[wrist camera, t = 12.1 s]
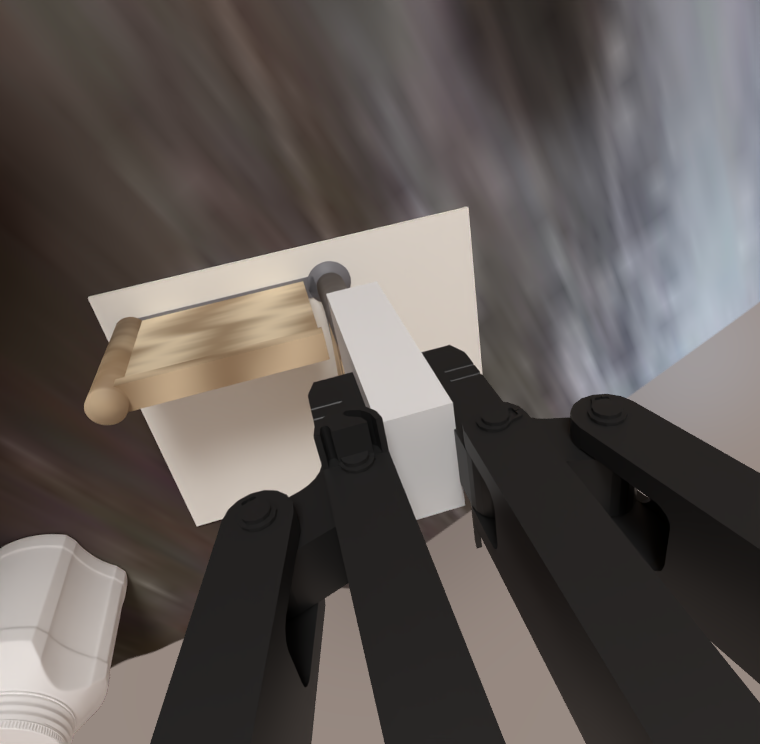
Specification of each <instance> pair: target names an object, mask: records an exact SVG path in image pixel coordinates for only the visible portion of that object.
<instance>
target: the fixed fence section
mask: <svg viewBox="0 0 760 744" xmlns="http://www.w3.org/2000/svg"><path fill="white" fill-rule="evenodd" d="M329 359H330V358H329V354H328V350H327V346H326V342H325V338H324V334H323V330H322V327H319V328H318V327H317V324H316V320H315V317H314V314H313V311H312V308H311V305H310V301H309V298H308V295H307V292H306V289H305V285H304V282H303V281H302V282H298V283H293V284H289V285H285V286H281V287H277V288H273V289H269V290H265V291H261V292H257V293H253V294H249V295H244V296H240V297H236V298H232V299H228V300H224V301H220V302H216V303H212V304H208V305H204V306H199V307H195V308H191V309H187V310H183V311H179V312H175V313H171V314H167V315H163V316H159V317H154V318H150V319H146V320H140V319H138V318H135V317H126V318H123V319H121V320H120V321H119V322H118V323H117V324H116V326H115V329H114V331H113V334H112V336H111V339H110V341H109V344H108V346H107V349H106V351H105V354H104V356H103V359H102V361H101V364H100V366H99V369H98V371H97V374H96V376H95V379H94V381H93V384H92V386H91V389H90V391H89V393H88V396H87V398H86V401H85V404H84V410H85V413H86V415H87V416H88V417H89V418H90V419H91V420H92V421H94V422H96V423H98V424H102V425H113V424H117V423H119V422H121V421H122V420H123V419H124V418H125V417H126V415H127V412H130V411H134V410H138V409H142V408H145V407H149V406H153V405H157V404H161V403H165V402H168V401H172V400H176V399H180V398H184V397H188V396H191V395H195V394H199V393H203V392H207V391H211V390H214V389H218V388H222V387H226V386H230V385H233V384H237V383H241V382H245V381H249V380H253V379H256V378H260V377H264V376H268V375H272V374H276V373H279V372H283V371H287V370H291V369H295V368H299V367H302V366H306V365H310V364H314V363H318V362H322V361H325V360H329Z"/></svg>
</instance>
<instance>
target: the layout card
mask: <svg viewBox="0 0 760 744" xmlns="http://www.w3.org/2000/svg"><path fill="white" fill-rule="evenodd" d="M330 272H332V273H336V274H338V275H340V276H341V277H342V279H343V281H344V283H345V285H346V287H347V289H348V288H352V287H356V286H360V285H364V284H368V283H372V282H376V281H377V282H378V284H379V286H380V287H381V289H382V290H383V292H384V294H385V295H386V297H387V298H388V300H389V302H390V303H391V305H392V306H393V308H394V310H395V311H396V313H397V314H398V316H399V318H400V319H401V321H402V322H403V324H404V326H405V327H406V329H407V330H408V332H409V334H410V335H411V337H412V338H413V340H414V342H415V343H416V345H417V346H418V348H419V350H420V351H421V352H424V351H428V350H432V349H436V348H439V347H443V346H447V345H451V346H453V347H455V348H458V349H460V350H462V351H464V352H465V353H466V354H467V355H468V357H469V358H470V359H471V361H472V362H473V364H474V365H475V366H476V367H477V369H478V370H479V371H480V374H482V364H481V352H480V340H479V328H478V316H477V304H476V292H475V280H474V268H473V256H472V244H471V232H470V221H469V209H468V207H463V208H459V209H455V210H451V211H446V212H442V213H438V214H434V215H430V216H425V217H421V218H417V219H413V220H409V221H404V222H400V223H396V224H392V225H388V226H383V227H379V228H375V229H371V230H367V231H362V232H358V233H354V234H350V235H346V236H341V237H337V238H333V239H329V240H325V241H320V242H316V243H312V244H308V245H304V246H299V247H295V248H291V249H287V250H282V251H278V252H274V253H270V254H266V255H261V256H257V257H253V258H249V259H245V260H240V261H236V262H232V263H228V264H224V265H219V266H215V267H211V268H207V269H203V270H198V271H194V272H190V273H186V274H182V275H177V276H173V277H169V278H165V279H161V280H156V281H152V282H148V283H144V284H139V285H135V286H131V287H127V288H123V289H118V290H114V291H110V292H106V293H102V294H97V295H93V296H89V297H88V300H89V302H90V304H91V306H92V308H93V310H94V312H95V314H96V317H97V319H98V321H99V323H100V325H101V327H102V329H103V331H104V333H105V335H106V337H107V340H108V342H109V341H110V339H111V336H112V334H113V331H114V329H115V326H116V324H117V323H118V322H119V321H120V320H121V319H123V318H126V317H135V318H138V319H140V320H146V319H150V318H154V317H159V316H163V315H167V314H171V313H175V312H179V311H183V310H187V309H191V308H195V307H199V306H204V305H208V304H212V303H216V302H220V301H224V300H228V299H232V298H236V297H240V296H244V295H249V294H253V293H257V292H261V291H265V290H269V289H273V288H277V287H281V286H285V285H289V284H293V283H298V282H302V281H303V282H304V285H305V289H306V292H307V295H308V298H309V301H310V305H311V308H312V311H313V314H314V317H315V320H316V324H317V327H318V328H319V327H322V330H323V334H324V338H325V342H326V346H327V350H328V354H329V358H330V359H329V360H325V361H322V362H318V363H314V364H310V365H306V366H302V367H299V368H295V369H291V370H287V371H283V372H279V373H276V374H272V375H268V376H264V377H260V378H256V379H253V380H249V381H245V382H241V383H237V384H233V385H230V386H226V387H222V388H218V389H214V390H211V391H207V392H203V393H199V394H195V395H191V396H188V397H184V398H180V399H176V400H172V401H168V402H165V403H161V404H157V405H153V406H149V407H145V408H142V409H141V411H142V413H143V415H144V417H145V419H146V421H147V423H148V425H149V427H150V429H151V432H152V434H153V436H154V438H155V440H156V442H157V444H158V446H159V448H160V450H161V452H162V455H163V457H164V459H165V461H166V463H167V465H168V467H169V469H170V471H171V473H172V475H173V477H174V480H175V482H176V484H177V486H178V488H179V490H180V492H181V494H182V496H183V498H184V500H185V503H186V505H187V507H188V509H189V511H190V513H191V515H192V517H193V519H194V521H195V523H196V526H200V525H203V524H207V523H210V522H214V521H217V520H221V519H223V518H224V516H225V514H226V512H227V511H228V509H229V508H230V507H231V506H233V505H234V504H235V503H236V502H237V501H238V500H240V499H241V498H243V497H245V496H247V495H249V494H251V493H255V492H259V491H263V490H277V491H279V492H282V493H284V494H287V495H288V497H290V496H292V495H293V494H295V493H297V492H299V491H300V490H302V489H303V488H305V487H306V486H308V485H309V484H310V483H311V482H312V481H313V480H314V479H315V478H316V476H317V475H318V473H319V472H320V469H321V466H322V465H321V461H320V458H319V455H318V451H317V448H316V444H315V441H314V437H313V435H314V428H315V426H314V422H313V417H312V413H311V408H310V404H309V399H308V394H309V391H310V389H311V387H312V384H313V382H317V381H320V380H324V379H328V378H332V377H335V376H338V372H337V366H336V361H335V355H334V350H333V344H332V339H331V333H330V327H329V322H328V319H327V316H326V313H325V310H324V308H323V305H322V302H321V299H320V296H319V294H318V291H317V281H318V279H319V278H320V277H321V276H322V275H324V274H326V273H330Z"/></svg>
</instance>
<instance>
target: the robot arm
mask: <svg viewBox="0 0 760 744" xmlns="http://www.w3.org/2000/svg"><path fill="white" fill-rule="evenodd" d="M326 295H327V300H328V304H329V308H330V312H331V317H332V321H333V325H334V329H335V334H336V338H337V342H338V346H339V351H340V355H341V359H342V364H343V368H344V372H345V374H343V375H339V376H335V377H332V378H328V379H324V380H320V381H317V382H313V384H312V387H311V389H310V391H309V394H308V399H309V404H310V408H311V413H312V417H313V422H314V426H315V428H314V435H313V437H314V441H315V444H316V448H317V451H318V455H319V458H320V461H321V465H322V466H321V469H320V472H319V473H318V475H317V476H316V478H315V479H314V480H313V481H312V482H311V483H310V484H309V485H308V486H306V487H305V488H303V489H302V490H300V491H299V492H297V493H295V494H293V495H292V496H290V497H288V495H287V494H284V493H282V492H279V491H277V490H263V491H259V492H255V493H251V494H249V495H247V496H245V497H243V498H241V499H240V500H238V501H237V502H236V503H235V504H234V505H233V506H231V507H230V508H229V509H228V511H227V512H226V514H225V516H224V518H223V520H222V522H221V525H220V528H219V531H218V535H217V538H216V541H215V544H214V547H213V550H212V553H211V556H210V559H209V563H208V566H207V569H206V572H205V575H204V578H203V581H202V584H201V587H200V590H199V594H198V597H197V600H196V603H195V606H194V609H193V612H192V615H191V618H190V621H189V625H188V628H187V631H186V634H185V637H184V640H183V643H182V646H181V650H180V653H179V656H178V659H177V662H176V665H175V668H174V671H173V674H172V678H171V681H170V684H169V687H168V690H167V693H166V696H165V699H164V702H163V705H162V709H161V712H160V715H159V718H158V721H157V724H156V727H155V730H154V733H153V737H152V739H151V743H150V744H311V741H312V731H313V721H314V711H315V701H316V691H317V681H318V672H319V662H320V652H321V642H322V632H323V621H324V612H325V598H326V597H327V596H329V595H330V594H332V593H334V592H335V591H337V590H338V589H340V588H341V587H343V586H344V585H346V584H347V583H349V587H350V592H351V596H352V600H353V605H354V609H355V614H356V618H357V623H358V627H359V631H360V636H361V640H362V645H363V649H364V653H365V658H366V662H367V667H368V671H369V676H370V680H371V685H372V689H373V693H374V698H375V702H376V706H377V711H378V715H379V720H380V725H381V729H382V733H383V737H384V742H385V744H506V743H505V741H504V738H503V736H502V734H501V731H500V729H499V726H498V723H497V721H496V718H495V716H494V713H493V711H492V708H491V706H490V703H489V701H488V698H487V696H486V693H485V691H484V688H483V686H482V683H481V681H480V678H479V676H478V673H477V671H476V668H475V666H474V663H473V661H472V658H471V656H470V653H469V651H468V648H467V646H466V643H465V641H464V638H463V636H462V633H461V631H460V629H459V626H458V623H457V621H456V618H455V616H454V613H453V611H452V608H451V605H450V603H449V601H448V598H447V596H446V593H445V590H444V588H443V586H442V583H441V580H440V578H439V575H438V573H437V570H436V568H435V566H434V563H433V560H432V558H431V555H430V553H429V550H428V548H427V546H426V543H425V540H424V538H423V535H422V533H421V530H420V528H419V525H418V523H417V520H418V519H421V518H424V517H428V516H431V515H434V514H438V513H441V512H444V511H448V510H451V509H455V508H458V507H461V506H465V501H464V492H463V489H464V491H465V493H466V494H467V496H468V498H469V500H470V502H471V509H472V518H473V526H474V535H475V542H476V547H477V548H480V547H482V543H481V538H482V540H483V541H484V544H485V546H486V548H487V550H488V552H489V554H490V555H491V558H492V560H493V561H494V563H495V565H496V567H497V569H498V571H499V573H500V575H501V577H502V579H503V581H504V583H505V585H506V587H507V589H508V591H509V593H510V595H511V597H512V599H513V601H514V603H515V605H516V607H517V609H518V611H519V613H520V615H521V617H522V618H523V621H524V622H525V624H526V626H527V628H528V630H529V632H530V634H531V636H532V638H533V640H534V642H535V644H536V646H537V648H538V650H539V652H540V654H541V656H542V658H543V660H544V662H545V663H546V666H547V668H548V670H549V672H550V674H551V676H552V678H553V679H554V681H555V684H556V685H557V687H558V689H559V691H560V693H561V695H562V697H563V699H564V701H565V703H566V705H567V707H568V709H569V711H570V713H571V715H572V717H573V719H574V721H575V723H576V725H577V727H578V729H579V731H580V733H581V734H582V737H583V739H584V741H585V743H586V744H760V703H759V701H758V700H757V699H756V698H755V696H754V695H753V694H752V693H751V691H750V690H749V689H748V688H747V686H746V685H745V684H744V683H743V681H742V680H741V679H740V678H739V676H738V675H737V674H736V673H735V672H734V670H733V669H732V668H731V667H730V665H729V664H728V663H727V661H726V660H725V659H724V658H723V656H722V655H721V654H720V653H719V651H718V650H717V649H716V648H715V646H714V645H713V644H715V645H716V646H717V647H718V648H719V649H720V650H721V651H723V652H724V653H725V654H726V655H727V656H728V657H730V658H731V659H732V660H733V661H734V662H735V663H736V664H738V665H739V666H740V667H741V668H742V669H743V670H744V671H745V672H747V673H748V674H749V675H750V676H751V677H753V678H754V679H755V680H756V681H757V682H758V683H759V684H760V473H759V472H756V471H755V470H753V469H752V468H750V467H748V466H746V465H745V464H743V463H741V462H739V461H737V460H736V459H734V458H732V457H730V456H728V455H727V454H725V453H723V452H722V451H720V450H718V449H716V448H714V447H713V446H711V445H709V444H708V443H705V442H704V441H702V440H700V439H699V438H697V437H695V436H693V435H692V434H690V433H688V432H686V431H684V430H683V429H681V428H679V427H677V426H676V425H674V424H672V423H670V422H669V421H667V420H665V419H664V418H662V417H660V416H658V415H656V414H655V413H653V412H651V411H649V410H648V409H646V408H644V407H642V406H640V405H639V404H637V403H635V402H634V401H631V400H629V399H626V398H624V397H621V396H616V395H610V394H599V395H591V396H588V397H585V398H582V399H580V400H579V401H578V402H576V403H575V404H574V405H573V407H572V409H571V412H570V418H553V419H536V418H531V417H530V416H529V415H528V414H527V412H525V411H524V410H523V409H522V408H520V407H519V406H517V405H514V404H511V403H508V402H503V401H502V400H501V398H500V397H499V396H498V395H497V393H496V392H495V391H494V389H493V388H492V387H491V385H490V384H489V383H488V382H487V380H486V379H485V378H484V376H483V375H482V374H480V371H479V370H478V369H477V367H476V366H475V365H474V364H473V362H472V361H471V359H470V358H469V357H468V355H467V354H466V353H465V352H464V351H462V350H460V349H458V348H455V347H453V346H451V345H447V346H443V347H439V348H436V349H432V350H428V351H424V352H421V351H420V350H419V348H418V346H417V345H416V343H415V342H414V340H413V338H412V337H411V335H410V334H409V332H408V330H407V329H406V327H405V326H404V324H403V322H402V321H401V319H400V318H399V316H398V314H397V313H396V311H395V310H394V308H393V306H392V305H391V303H390V302H389V300H388V298H387V297H386V295H385V294H384V292H383V290H382V289H381V287H380V286H379V284H378V282H377V281H376V282H372V283H368V284H364V285H360V286H356V287H352V288H348V289H344V290H339V291H335V292H331V293H327V294H326ZM637 489H638V490H639V491H641V492H642V493H643V494H645V495H646V496H645V495H643V494H642V493H640V492H639V491H638V490H637ZM647 496H648V497H647ZM710 641H711V642H712V643H713V644H712V643H711V642H710Z"/></svg>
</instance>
